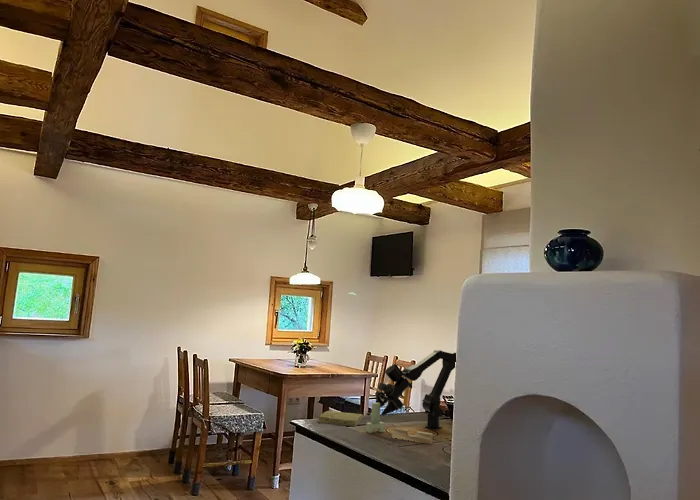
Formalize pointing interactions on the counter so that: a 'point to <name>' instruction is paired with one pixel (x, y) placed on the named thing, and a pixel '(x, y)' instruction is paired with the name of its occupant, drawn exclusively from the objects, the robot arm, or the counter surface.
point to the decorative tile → (340, 418)
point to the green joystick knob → (375, 419)
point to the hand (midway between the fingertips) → (377, 412)
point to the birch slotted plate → (412, 436)
